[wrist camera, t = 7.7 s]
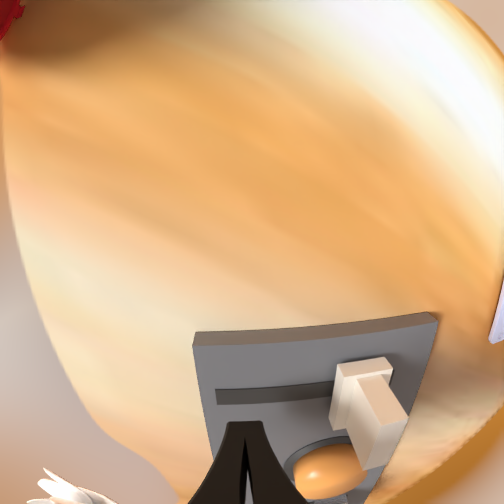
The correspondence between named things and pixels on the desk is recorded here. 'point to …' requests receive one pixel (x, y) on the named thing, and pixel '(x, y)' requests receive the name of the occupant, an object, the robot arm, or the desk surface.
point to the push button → (328, 471)
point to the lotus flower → (68, 493)
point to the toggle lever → (367, 410)
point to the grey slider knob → (333, 500)
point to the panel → (303, 381)
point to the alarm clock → (8, 14)
